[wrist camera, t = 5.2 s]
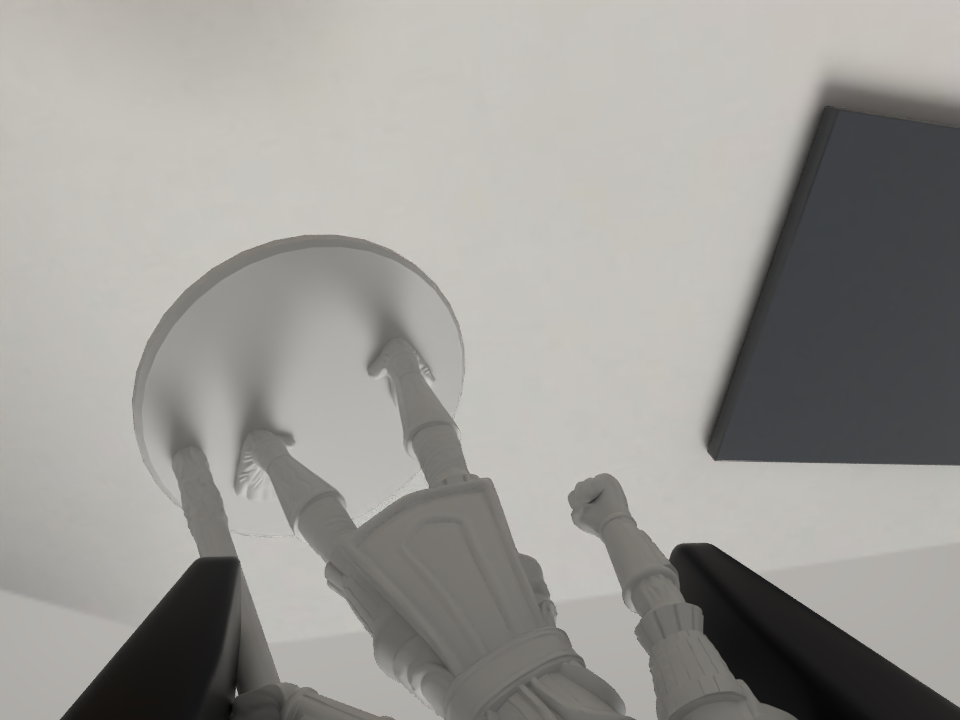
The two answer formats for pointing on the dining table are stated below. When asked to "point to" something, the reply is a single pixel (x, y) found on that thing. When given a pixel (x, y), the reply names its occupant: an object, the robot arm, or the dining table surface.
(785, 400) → the slate tile
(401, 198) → the dining table surface
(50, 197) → the dining table surface
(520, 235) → the dining table surface
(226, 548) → the figurine
